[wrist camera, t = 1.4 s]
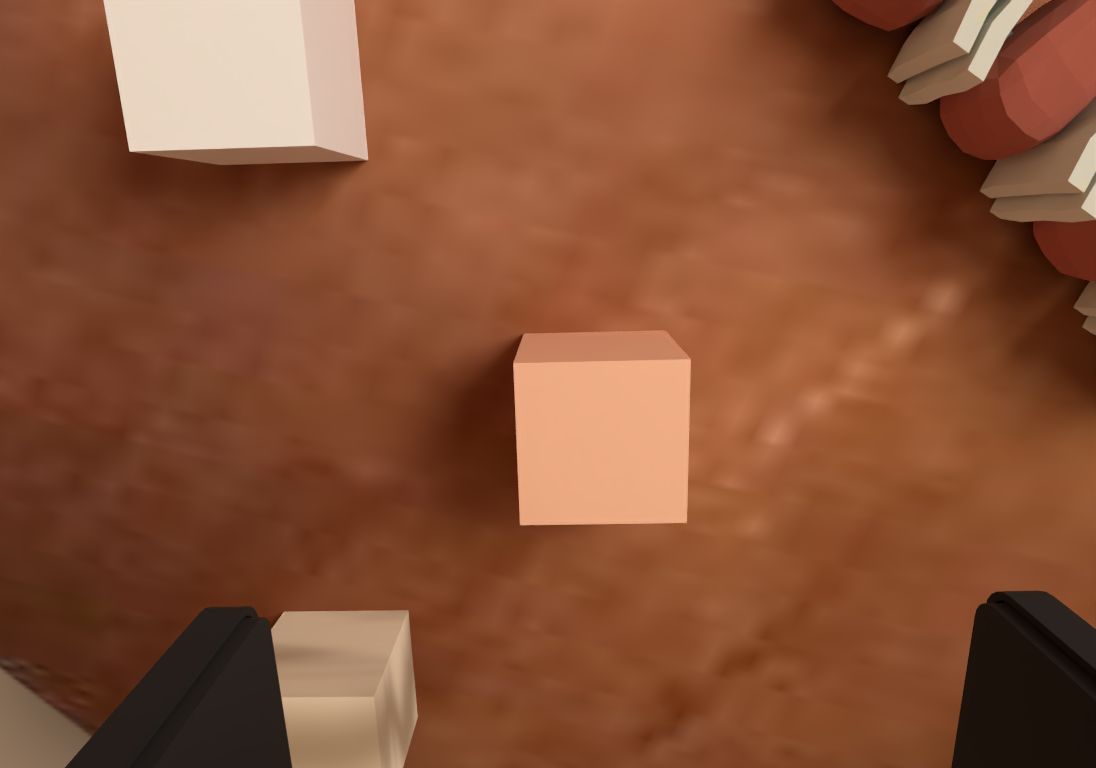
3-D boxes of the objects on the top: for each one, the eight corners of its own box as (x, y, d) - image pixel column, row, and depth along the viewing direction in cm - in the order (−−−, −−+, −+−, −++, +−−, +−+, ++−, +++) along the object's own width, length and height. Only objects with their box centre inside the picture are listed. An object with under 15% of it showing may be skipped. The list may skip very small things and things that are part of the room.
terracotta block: (663, 462, 25) (686, 522, 20) (528, 465, 25) (519, 525, 20) (665, 329, 24) (690, 359, 19) (523, 333, 24) (513, 363, 19)
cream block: (368, 160, 22) (315, 145, 18) (222, 165, 23) (129, 151, 18) (354, -5, 21) (292, -70, 16) (199, 1, 21) (92, -62, 17)
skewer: (863, -428, 15) (1552, 456, 19) (797, -278, 20) (1364, 412, 24) (696, -231, 16) (1383, 571, 20) (669, -131, 21) (1234, 508, 25)
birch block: (418, 715, 28) (386, 821, 23) (299, 716, 28) (244, 821, 23) (408, 609, 27) (373, 696, 22) (284, 610, 27) (223, 697, 22)
